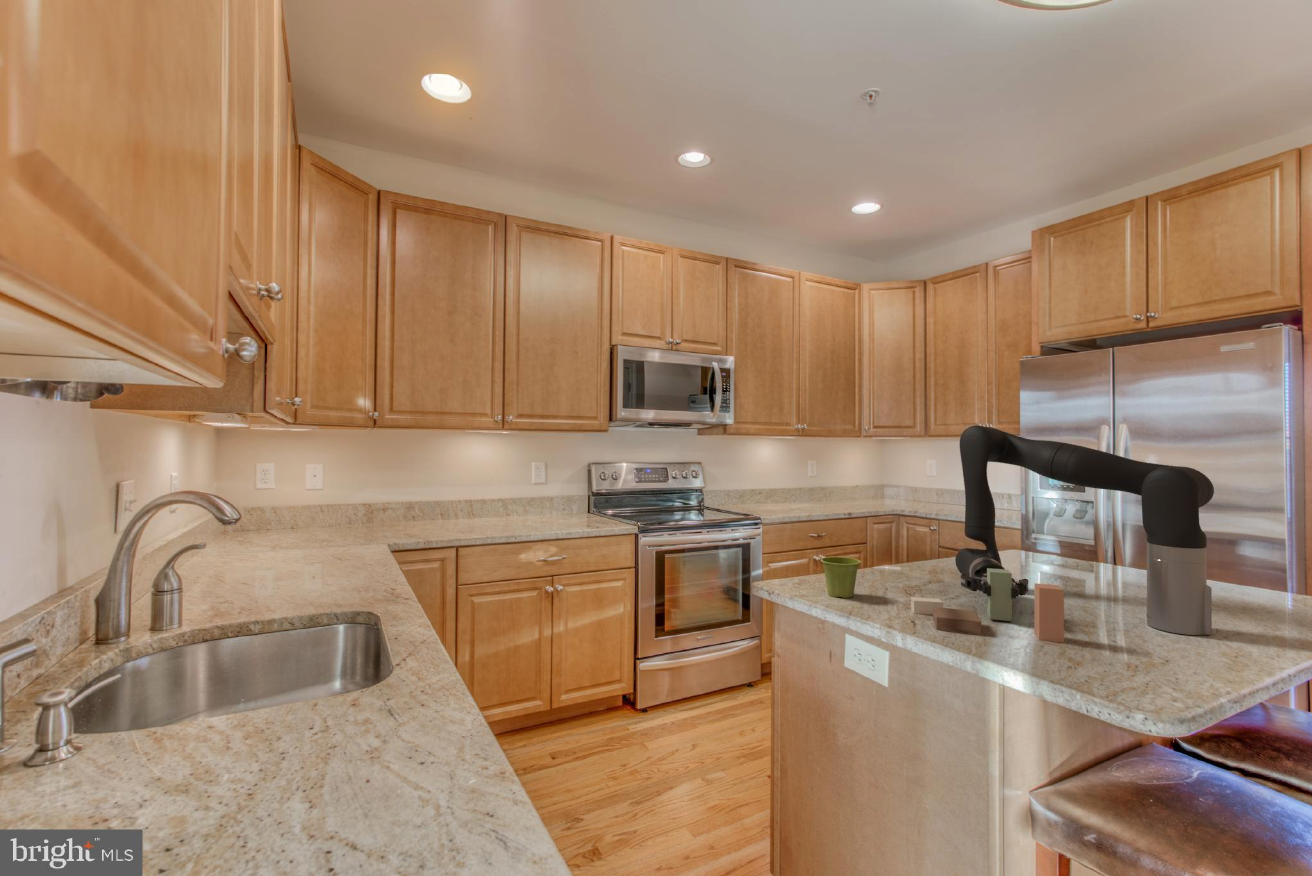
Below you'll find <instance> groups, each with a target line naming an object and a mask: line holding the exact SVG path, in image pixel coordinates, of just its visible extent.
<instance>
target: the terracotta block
mask: <svg viewBox="0 0 1312 876" xmlns="http://www.w3.org/2000/svg"><path fill="white" fill-rule="evenodd" d="M1033 606H1034V615H1033V616H1034V618H1033V619H1034V623H1033V624H1034V627H1033V628H1034V629H1033V631H1034V635H1035V637H1037V639H1038V640H1039V641H1047V642H1055V643H1065V626H1064V625H1065V589H1063V588H1062V587H1061V586H1060V585H1059V584H1046V583H1036V582H1035V583H1034V605H1033Z"/></svg>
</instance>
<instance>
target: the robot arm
mask: <svg viewBox="0 0 1312 876" xmlns="http://www.w3.org/2000/svg"><path fill="white" fill-rule="evenodd" d="M959 452H960V453H959V454H960V455H959V456H960V461H961V467H962V468H961V469H962V477H963V485H964V495H965V497H964V498H965V499H964V500H965V502H964V503H965V507H964V508H965V510H964V536H965V537H966V538H967V539H970V540H973V541H978V542H981V543H982V544H983V545H984V547H985V549H979V548H970V547H969V548H968V547H964V548H963V547H962V548H961V549H959V551H957V553H956V554H955V558H954V559H955V567H956V569H957V571H958V572H959V573H960V586H961V587H963V588H965V589H967V590H970V591H972V592H977V591H979V592H980V593H982V594H984V595H986V597H987V596H991V586H990V585H989V583H988V582H987V568H991V569H1005V568H1004V566H1003V564H1002V560H1001V555H1000V553H999V550H998V546H997V540H996V532H995V531H996V508H995V507H996V506H995V502H994V498H993V494H992V491H991V489H990V486H989V480H988V463H1000V464H1005V465H1011V466H1016V467H1018V466H1019V467H1021V468H1024V469H1027V470H1029V471H1031V472H1033V473H1036V474H1038V475H1039V476H1042V477H1045V478H1047V479H1051V480H1054V481H1057V482H1058V481H1059V482H1062V483H1065V484H1069V485H1073V486H1079V487H1084V488H1090V489H1099V490H1106V491H1107V490H1109V491H1117V492H1125V493H1129V494H1133V495H1137V496H1140V497H1141V517H1142V527H1143V529H1144V532H1145V534H1146V625H1148V626H1149V627H1151V628H1154V629H1156V630H1159V631H1164V632H1169V633H1173V634H1174V633H1175V634H1179V635H1189V636H1204V635H1206V636H1207V635H1208V636H1212V635H1213V634H1212V632H1213V631H1212V627H1213V626H1212V622H1213V621H1212V618H1213V617H1212V615H1213V614H1212V613H1213V612H1212V597H1213V596H1212V594H1213V593H1212V587H1211V586H1210V585H1208V584H1207V545H1208V544H1207V535H1206V533H1205V532H1204V531H1203V530H1202V528H1201V524H1200V511H1199V509H1200V508H1202V507H1204V506H1205V505H1208V503H1210V502H1211V500H1212V499H1213V497H1214V494H1215V488H1214V485H1213V483H1212V481H1211V479H1210V478H1209V477H1208V476H1207V475H1205V474H1204V473H1203V472H1202V471H1200V470H1197V469H1195V468H1193V467H1189V466H1177V465H1170V464H1168V465H1167V464H1159V463H1152V462H1145V461H1139V460H1134V459H1130V458H1127V457H1124V456H1121V455H1118V454H1114V453H1110V452H1107V451H1103V450H1099V449H1094V448H1092V447H1087V446H1082V445H1077V444H1074V443H1073V444H1072V443H1068V442H1064V441H1063V442H1062V441H1053V440H1042V439H1038V440H1037V439H1032V438H1026V437H1023V436H1019V435H1016V434H1012V433H1009V432H1007V431H1004V430H1001V429H998V428H994V427H989V426H986V425H977V424H976V425H970V426H969V427H967V428H965V429H964V430H963V431H962V433H961V435H960V437H959ZM1028 592H1029V579H1028V578H1022V579H1018V581H1016V580H1015V579H1014V578H1013V577H1012V587H1011V598H1012V599H1017V597H1019V596H1025V595H1027V593H1028Z"/></svg>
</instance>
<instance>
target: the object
mask: <svg viewBox="0 0 1312 876" xmlns="http://www.w3.org/2000/svg"><path fill="white" fill-rule="evenodd" d="M820 562H821V563H822V567H823V568H824V577H825V584H826V589H827V590H826V591H827V594H828V596H831V597H833V598H838V597H839V598H843V599H848V598H853V596H854V595H855V588H856V581H857V573H858V569H859V567H860V565H861V560H859V559H858V558H853V557H846V556H825V557H822V558H820Z"/></svg>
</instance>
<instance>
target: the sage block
mask: <svg viewBox="0 0 1312 876" xmlns="http://www.w3.org/2000/svg"><path fill="white" fill-rule="evenodd" d="M1012 578H1013V577H1012V572H1011V571H1010V569H1006V568H1004V569H991V568H987V582H988V583H989V585H990V586H991V596H987V595H986V615H987V616H988V618H989V620H993V621H994V620H995V621H1007V622H1012V621H1013V620H1012V619H1013V609H1012V608H1013V604H1012V603H1013V601H1012V600H1013V598H1011V587H1012Z"/></svg>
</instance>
